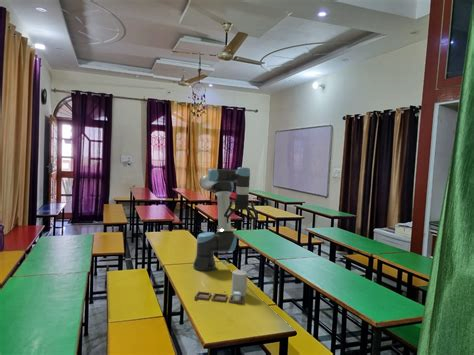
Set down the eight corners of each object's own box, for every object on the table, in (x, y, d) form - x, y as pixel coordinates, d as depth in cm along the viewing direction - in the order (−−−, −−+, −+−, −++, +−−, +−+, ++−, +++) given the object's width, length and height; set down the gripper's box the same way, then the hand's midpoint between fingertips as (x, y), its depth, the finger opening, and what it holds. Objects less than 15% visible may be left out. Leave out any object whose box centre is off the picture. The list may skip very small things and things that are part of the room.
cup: (244, 297, 181) (246, 275, 181) (230, 295, 183) (231, 273, 182) (247, 292, 189) (248, 270, 188) (233, 290, 191) (234, 269, 190)
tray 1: (198, 294, 183) (198, 291, 183) (211, 295, 182) (211, 292, 182) (194, 299, 176) (194, 296, 176) (207, 301, 175) (208, 298, 175)
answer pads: (201, 287, 193) (201, 287, 193) (247, 292, 189) (247, 291, 189) (198, 292, 185) (198, 292, 185) (245, 298, 181) (245, 297, 181)
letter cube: (232, 298, 178) (233, 290, 178) (240, 298, 179) (240, 291, 178) (232, 302, 174) (233, 294, 174) (240, 302, 174) (241, 294, 174)
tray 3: (230, 298, 181) (230, 295, 181) (244, 299, 180) (244, 296, 180) (228, 303, 174) (228, 300, 173) (242, 305, 173) (242, 302, 172)
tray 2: (214, 296, 182) (214, 293, 182) (227, 297, 181) (227, 294, 181) (211, 301, 175) (211, 298, 175) (225, 303, 174) (225, 300, 174)
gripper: (220, 193, 196) (218, 229, 197) (263, 195, 192) (261, 232, 193) (222, 191, 203) (220, 226, 204) (264, 194, 200) (262, 230, 201)
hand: (240, 229), depth 199 cm, fingers open, 13 cm apart
